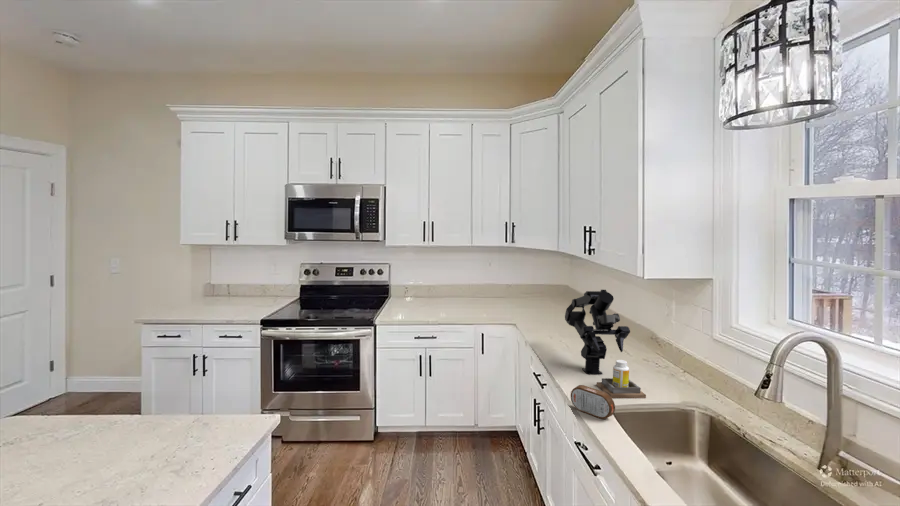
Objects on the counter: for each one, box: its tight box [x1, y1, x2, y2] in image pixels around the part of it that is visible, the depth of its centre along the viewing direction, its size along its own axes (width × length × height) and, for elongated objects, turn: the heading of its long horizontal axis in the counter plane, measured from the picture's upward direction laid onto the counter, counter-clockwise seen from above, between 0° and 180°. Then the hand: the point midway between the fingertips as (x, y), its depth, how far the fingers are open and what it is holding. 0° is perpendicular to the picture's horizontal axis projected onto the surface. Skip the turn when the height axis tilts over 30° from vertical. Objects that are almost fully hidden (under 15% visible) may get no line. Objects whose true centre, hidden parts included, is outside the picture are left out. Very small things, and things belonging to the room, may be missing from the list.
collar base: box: [595, 377, 647, 399], centre depth 166 cm, size 13×13×3 cm
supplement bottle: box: [612, 359, 630, 387], centre depth 166 cm, size 6×6×10 cm
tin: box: [570, 384, 616, 420], centre depth 145 cm, size 15×3×8 cm, turn 42°
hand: (610, 351), depth 171 cm, fingers open, 9 cm apart
